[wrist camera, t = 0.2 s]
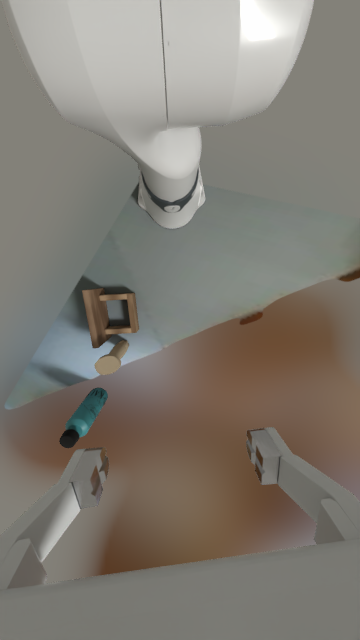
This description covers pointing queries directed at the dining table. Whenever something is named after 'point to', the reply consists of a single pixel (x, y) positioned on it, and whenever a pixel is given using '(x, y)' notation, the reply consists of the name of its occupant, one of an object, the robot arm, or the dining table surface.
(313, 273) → the dining table surface
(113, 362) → the handle
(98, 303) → the wooden drawer
